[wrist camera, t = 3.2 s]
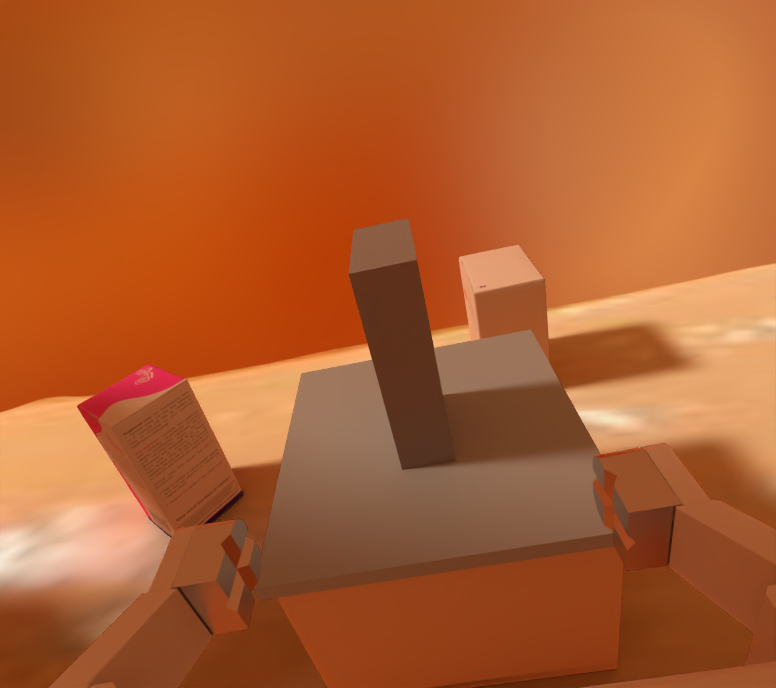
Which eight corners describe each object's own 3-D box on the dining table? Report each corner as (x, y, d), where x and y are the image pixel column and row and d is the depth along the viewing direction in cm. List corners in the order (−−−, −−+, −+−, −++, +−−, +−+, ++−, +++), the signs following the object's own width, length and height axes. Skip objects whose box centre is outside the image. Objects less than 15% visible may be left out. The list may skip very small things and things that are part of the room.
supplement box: (247, 492, 39) (188, 377, 33) (184, 550, 36) (105, 432, 30) (208, 468, 43) (148, 360, 37) (146, 518, 39) (69, 407, 33)
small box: (552, 390, 42) (547, 278, 37) (487, 401, 43) (472, 293, 37) (528, 342, 49) (520, 242, 44) (472, 352, 49) (458, 255, 44)
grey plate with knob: (260, 600, 20) (132, 384, 14) (305, 383, 32) (247, 225, 27) (640, 542, 18) (663, 280, 13) (531, 340, 31) (519, 165, 25)
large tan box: (336, 705, 25) (272, 590, 20) (349, 492, 37) (310, 387, 32) (617, 668, 24) (625, 536, 19) (535, 460, 36) (527, 346, 31)
